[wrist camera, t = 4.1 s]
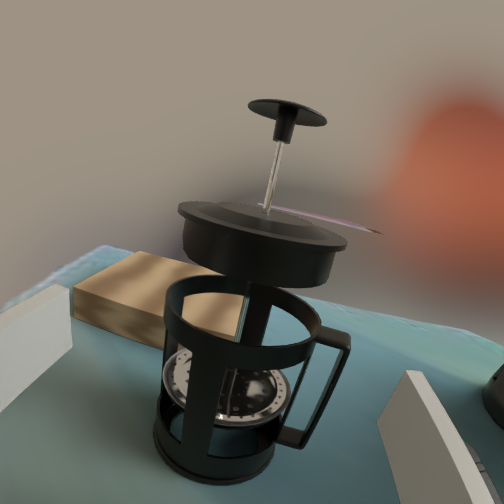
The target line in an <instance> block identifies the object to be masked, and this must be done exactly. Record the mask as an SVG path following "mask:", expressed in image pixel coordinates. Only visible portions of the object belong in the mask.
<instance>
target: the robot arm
mask: <svg viewBox="0 0 504 504" xmlns="http://www.w3.org/2000/svg"><path fill="white" fill-rule="evenodd" d="M72 347H73V345H72V334H71V321H70V301H69V289H68V288H65V287H63V286H60V285H57V284H54V285H52V286H50V287H48V288H46V289H45V290H43V291H41V292H39V293H37V294H35V295H33V296H32V297H30V298H28V299H26V300H24V301H22V302H21V303H19V304H17V305H15V306H13V307H11V308H10V309H8V310H6V311H4V312H3V313H1V314H0V412H1V411H2V410H3V409H4V408H6V407H7V406H8V405H9V404H10V403H11V402H12V401H13V400H14V399H15V398H16V397H17V396H18V395H19V394H20V393H22V392H23V391H24V390H25V389H26V388H27V387H28V386H29V385H30V384H31V383H33V382H34V381H35V380H36V379H37V378H38V377H39V376H40V375H41V374H42V373H44V372H45V371H46V370H47V369H48V368H49V367H50V366H51V365H53V364H54V363H55V362H56V361H57V360H58V359H59V358H61V357H62V356H63V355H64V354H65V353H66V352H67V351H69V350H70V349H71V348H72ZM483 400H484V403H485V406H486V408H487V409H488V411H489V413H490V414H491V415H492V417H493V418H494V419H495V420H496V421H497V422H498V423H499V424H500V425H501V426H502V427H503V428H504V364H503V365H502V366H501V367H500V368H499V369H498V370H497V371H496V372H495V373H494V374H493V376H492V377H491V378H490V380H489V382H488V383H487V385H486V387H485V388H484V390H483ZM377 425H378V428H379V431H380V434H381V438H382V441H383V444H384V447H385V450H386V454H387V457H388V460H389V464H390V467H391V470H392V474H393V477H394V481H395V484H396V488H397V491H398V495H399V499H400V502H401V504H503V503H502V501H501V499H500V497H499V495H498V493H497V491H496V489H495V487H494V485H493V483H492V481H491V479H490V477H489V475H488V473H487V472H485V468H484V466H483V464H481V460H480V458H479V457H478V455H477V453H476V451H475V450H474V449H473V448H472V447H471V446H470V445H469V444H468V443H467V442H463V440H462V439H461V437H460V435H459V433H458V432H457V430H456V428H455V426H454V425H453V423H452V421H451V419H450V418H449V416H448V414H447V413H446V411H445V409H444V407H443V406H442V404H441V402H440V401H439V399H438V398H437V396H436V394H435V393H434V391H433V389H432V388H431V386H430V385H429V383H428V381H427V380H426V378H425V377H424V375H423V374H422V372H421V371H411V370H405V372H404V374H403V376H402V378H401V380H400V381H399V383H398V385H397V387H396V389H395V391H394V393H393V394H392V396H391V398H390V400H389V401H388V403H387V405H386V407H385V408H384V410H383V412H382V413H381V415H380V417H379V418H378V420H377Z"/></svg>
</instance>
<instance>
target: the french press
mask: <svg viewBox="0 0 504 504" xmlns="http://www.w3.org/2000/svg"><path fill="white" fill-rule="evenodd" d="M248 108H249V109H250V110H251V111H253V112H255V113H257V114H259V115H262V116H265V117H267V118H271V119H274V120H276V124H275V130H274V136H273V140H274V141H276V142H278V143H277V147H276V152H275V156H274V161H273V166H272V170H271V175H270V179H269V184H268V188H267V193H266V197H265V202H264V206H263V208H261V207H256V206H251V205H245V204H238V203H229V202H219V203H212V202H198V201H196V202H183V203H180V204H179V206H178V213H179V214H180V215H182V216H183V217H184V218H185V224H184V230H183V249H184V251H185V253H186V254H187V256H188V258H189V259H191V260H192V261H194V262H195V263H197V264H199V265H201V266H203V267H205V268H207V269H209V270H211V271H214V272H217V273H220V274H222V275H217V274H205V275H194V276H190V277H185V278H182V279H180V280H177V281H175V282H174V283H172V284H171V285H170V286H169V288H168V289H167V291H166V296H165V304H164V314H163V319H164V324H165V327H166V330H165V341H164V352H163V365H162V379H161V393H160V396H159V398H158V401H157V418H156V421H155V423H154V430H153V437H154V443H155V446H156V448H157V450H158V452H159V454H160V456H161V457H162V458H163V460H164V461H165V462H166V463H167V464H168V465H169V466H170V467H171V468H173V469H174V470H175V471H176V472H178V473H179V474H181V475H183V476H185V477H187V478H189V479H191V480H194V481H197V482H200V483H204V484H210V485H233V484H239V483H242V482H245V481H248V480H250V479H252V478H254V477H255V476H257V475H259V474H260V473H262V471H263V470H264V469H265V468H266V467H267V466H268V465H269V463H270V461H271V459H272V457H273V455H274V450H275V444H276V443H278V444H281V445H284V446H288V447H291V448H295V449H299V450H301V449H303V448H304V447H305V446H306V444H307V442H308V440H309V438H310V437H311V435H312V433H313V431H314V429H315V427H316V425H317V423H318V421H319V419H320V417H321V415H322V413H323V411H324V409H325V407H326V405H327V403H328V401H329V399H330V397H331V395H332V393H333V390H334V388H335V386H336V384H337V382H338V379H339V377H340V375H341V373H342V370H343V368H344V366H345V364H346V361H347V359H348V356H349V354H350V350H351V337H350V335H349V334H348V333H346V332H343V331H339V330H336V329H332V328H329V327H325V326H322V325H321V319H320V317H319V315H318V313H317V312H316V311H315V310H314V308H312V307H311V306H310V305H309V304H308V303H307V302H305V301H304V300H302V299H301V298H299V297H297V296H296V295H294V294H292V293H290V292H288V291H285V290H283V289H281V288H278V287H282V288H311V287H316V286H320V285H322V284H324V283H326V282H327V280H328V278H329V274H330V271H331V268H332V264H333V261H334V257H335V253H336V252H339V251H343V250H345V249H346V246H347V241H346V239H344V238H343V237H341V236H340V235H338V234H336V233H334V232H331V231H329V230H327V229H324V228H321V227H319V226H316V225H314V224H312V223H310V222H309V221H306V220H304V219H301V218H298V217H296V216H292V215H289V214H286V213H282V212H278V211H274V210H270V206H271V202H272V197H273V192H274V188H275V184H276V179H277V175H278V170H279V165H280V161H281V157H282V152H283V148H284V143H285V144H289V143H290V141H291V137H292V133H293V130H294V126H295V124H296V125H303V126H314V127H316V126H317V127H318V126H324V125H326V124H327V120H326V118H325V117H324V116H323V115H321V114H320V113H318V112H317V111H315V110H313V109H311V108H309V107H306V106H303V105H301V104H297V103H294V102H290V101H284V100H277V99H259V100H254V101H251V102H250V103H249V104H248ZM200 293H227V294H235V295H241V296H243V301H242V305H241V310H240V314H239V319H238V323H237V328H236V332H235V337H234V341H230V340H227V339H224V338H221V337H217V336H214V335H212V334H210V333H208V332H205V331H203V330H201V329H199V328H197V327H195V326H194V325H192V324H191V323H189V322H187V321H186V320H185V319H183V318H182V312H183V304H184V297H186V296H190V295H193V294H200ZM272 305H274V306H276V307H279V308H281V309H283V310H284V311H286V312H288V313H290V314H291V315H293V316H294V317H295V318H297V319H298V320H299V321H300V322H301V323H302V324H303V325H304V326H305V327H306V328H307V330H308V331H309V333H310V335H311V337H310V338H308V339H306V340H303V341H301V342H299V343H294V344H289V345H281V346H261V345H262V341H263V338H264V334H265V330H266V326H267V323H268V319H269V315H270V311H271V308H272ZM316 342H317V343H320V344H323V345H327V346H330V347H334V348H338V349H341V350H340V352H339V355H338V357H337V360H336V362H335V364H334V367H333V369H332V372H331V374H330V376H329V379H328V381H327V383H326V386H325V388H324V390H323V392H322V395H321V397H320V399H319V401H318V403H317V405H316V408H315V410H314V412H313V414H312V416H311V418H310V420H309V422H308V424H307V426H306V428H305V430H304V431H302V430H297V429H294V428H291V427H287V426H284V424H285V421H286V419H287V417H288V414H289V412H290V410H291V407H292V405H293V402H294V400H295V397H296V395H297V392H298V390H299V387H300V385H301V382H302V380H303V377H304V375H305V372H306V369H307V367H308V364H309V361H310V359H311V356H312V353H313V350H314V348H315V345H316ZM178 343H179V344H180V345H182V346H183V347H185V349H183V350H180V351H178ZM303 361H304V363H303V366H302V369H301V371H300V374H299V377H298V379H297V382H296V385H295V387H294V390H293V392H292V395H291V390H290V385H289V383H288V380H287V378H286V377H285V376H284V374H283V373H282V371H280V369H284V368H288V367H292V366H295V365H297V364H299V363H301V362H303ZM290 396H291V398H290ZM286 407H287V408H286ZM285 408H286V410H285V412H284V415H283V417H282V416H281V412H282V411H283V410H284V409H285ZM182 412H183V413H184V419H183V428H182V437H181V442H180V441H179V440H178V439H177V438H175V437H174V436H173V435H172V434H171V433H170V428H171V425H172V422H173V421H174V419H175V418H176V417H177V416H178V415H179V414H181V413H182ZM213 427H215V428H220V429H227V430H243V429H250V428H254V429H255V431H256V433H257V436H258V439H259V446H258V450H257V451H256V452H255V453H252V454H249V455H245V456H238V457H219V456H213V455H208V449H209V445H210V440H211V436H212V431H213Z"/></svg>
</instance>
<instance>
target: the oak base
mask: <svg viewBox="0 0 504 504" xmlns="http://www.w3.org/2000/svg"><path fill="white" fill-rule="evenodd" d="M205 274H217V275H222V274H220V273H217V272H214V271H211V270H209V269H207V268H204V267H200V266H196V265H192V264H188V263H184V262H180V261H176V260H172V259H168V258H164V257H161V256H157V255H153V254H149V253H145V252H141V251H138V252H136V253H134V254H133V255H131V256H129V257H127V258H125V259H123V260H121V261H119V262H117V263H115V264H113V265H111V266H110V267H108V268H106V269H104V270H102V271H100V272H98V273H97V274H95V275H93V276H91V277H89V278H87V279H85V280H84V281H82V282H80V283H78V284H76V285H75V286H73V305H74V317H75V318H77V319H80V320H82V321H85V322H87V323H89V324H92V325H94V326H97V327H99V328H102V329H105V330H107V331H110V332H112V333H115V334H118V335H121V336H123V337H126V338H129V339H132V340H135V341H137V342H140V343H143V344H146V345H149V346H152V347H155V348H158V349H162V350H164V341H165V330H166V327H165V324H164V319H163V314H164V304H165V296H166V291H167V289H168V288H169V286H170V285H171V284H172V283H174V282H175V281H177V280H180V279H182V278H185V277H190V276H194V275H205ZM242 301H243V296H241V295H235V294H227V293H200V294H193V295H190V296H186V297H184V304H183V312H182V318H183V319H185V320H186V321H187V322H189V323H191V324H192V325H194V326H195V327H197V328H199V329H201V330H203V331H205V332H208V333H210V334H212V335H214V336H217V337H221V338H224V339H227V340H230V341H234V337H235V332H236V328H237V323H238V319H239V314H240V310H241V305H242ZM183 349H185V347H183V346H182V345H180V344H179V343H178V351H180V350H183Z"/></svg>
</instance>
